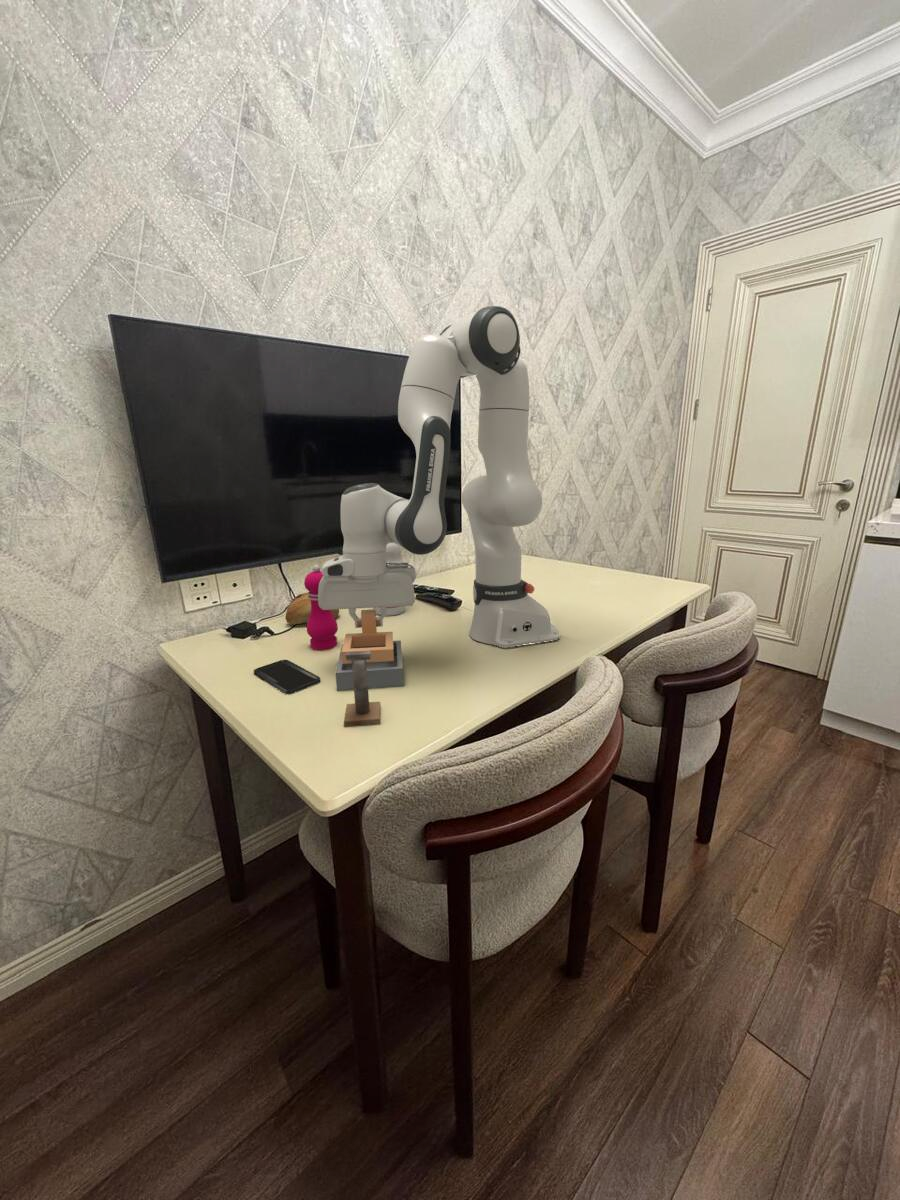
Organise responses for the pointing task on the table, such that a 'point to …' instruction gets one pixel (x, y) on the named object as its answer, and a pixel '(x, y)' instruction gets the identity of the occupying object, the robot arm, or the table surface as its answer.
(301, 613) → the bread roll
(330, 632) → the pepper mill
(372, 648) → the ring
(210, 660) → the table surface
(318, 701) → the table surface
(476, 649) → the table surface
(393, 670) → the tray
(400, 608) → the fruit juice
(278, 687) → the phone
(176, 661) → the table surface
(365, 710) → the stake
